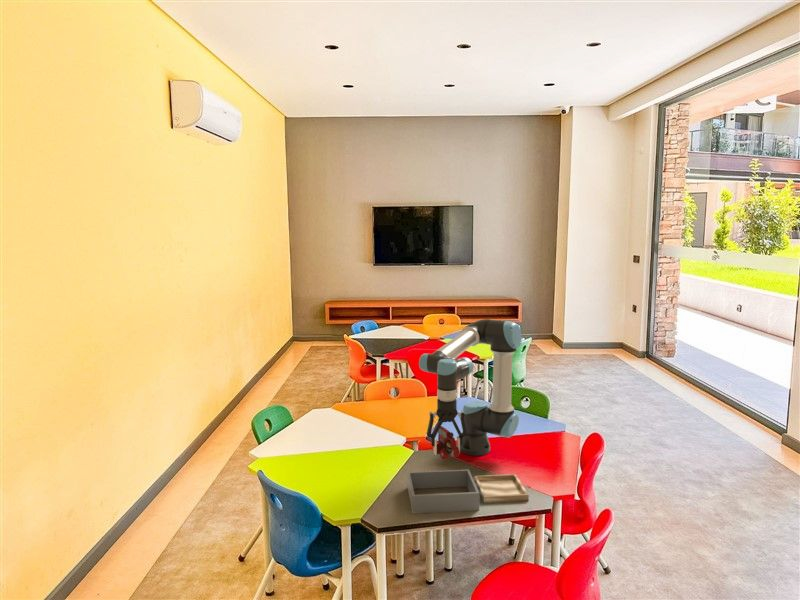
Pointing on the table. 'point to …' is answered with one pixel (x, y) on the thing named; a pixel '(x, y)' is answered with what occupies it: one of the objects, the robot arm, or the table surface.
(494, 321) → the robot arm
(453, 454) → the toy fire truck
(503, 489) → the tray
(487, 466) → the table surface
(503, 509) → the table surface
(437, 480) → the bin
